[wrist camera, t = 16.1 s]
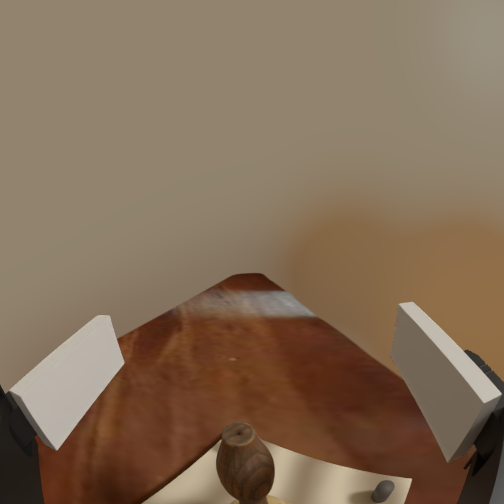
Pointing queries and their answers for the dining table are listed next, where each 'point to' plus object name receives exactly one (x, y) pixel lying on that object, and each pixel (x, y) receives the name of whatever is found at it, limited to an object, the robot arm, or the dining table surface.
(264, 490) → the hand bell
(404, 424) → the dining table surface
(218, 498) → the board
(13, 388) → the robot arm
